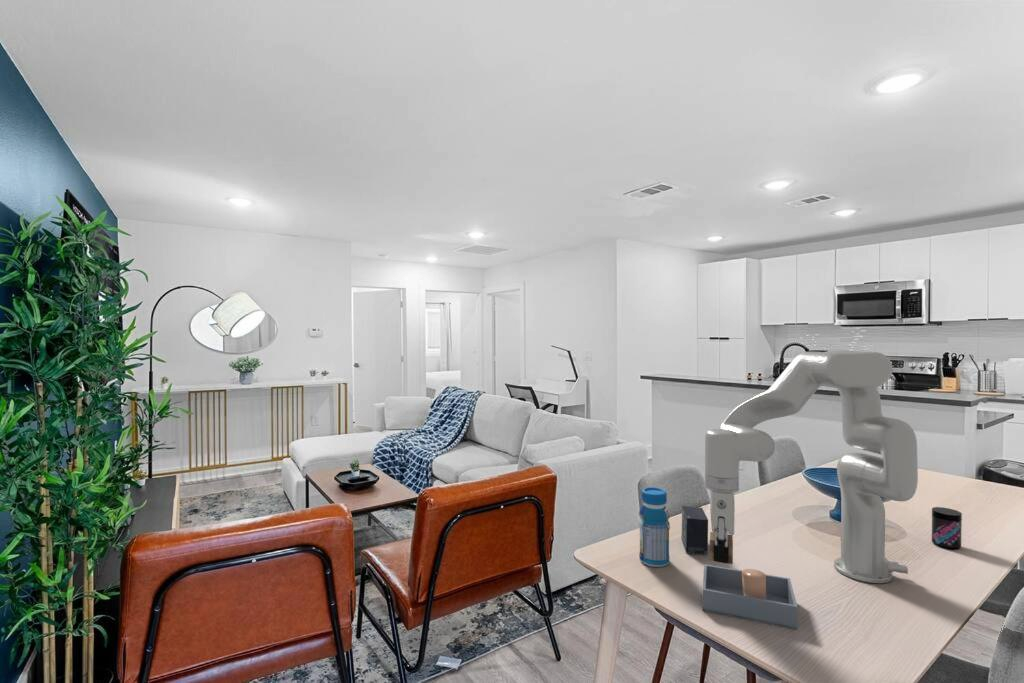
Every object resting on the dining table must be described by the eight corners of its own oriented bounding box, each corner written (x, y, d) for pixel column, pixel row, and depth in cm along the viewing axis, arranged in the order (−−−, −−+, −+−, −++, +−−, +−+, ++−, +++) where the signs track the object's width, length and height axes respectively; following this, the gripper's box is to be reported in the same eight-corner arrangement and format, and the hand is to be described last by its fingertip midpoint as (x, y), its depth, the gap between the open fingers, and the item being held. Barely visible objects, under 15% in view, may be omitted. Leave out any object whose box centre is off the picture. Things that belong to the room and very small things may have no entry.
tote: (789, 598, 119) (789, 578, 119) (797, 629, 107) (797, 607, 107) (704, 583, 127) (704, 564, 126) (702, 610, 114) (702, 589, 114)
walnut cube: (732, 555, 120) (732, 535, 120) (732, 564, 115) (732, 543, 115) (710, 551, 122) (710, 531, 122) (709, 560, 117) (709, 539, 117)
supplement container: (925, 542, 149) (926, 508, 149) (941, 539, 151) (941, 505, 151) (951, 552, 143) (952, 516, 142) (967, 549, 145) (967, 513, 144)
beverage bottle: (652, 570, 133) (652, 497, 133) (632, 557, 141) (632, 488, 141) (676, 564, 137) (676, 492, 137) (655, 552, 145) (655, 484, 144)
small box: (709, 555, 142) (709, 519, 142) (685, 553, 143) (685, 518, 143) (702, 540, 153) (702, 506, 152) (680, 538, 154) (680, 505, 154)
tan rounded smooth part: (764, 611, 113) (763, 580, 113) (741, 605, 115) (740, 575, 116) (768, 601, 117) (767, 572, 117) (745, 596, 120) (744, 567, 120)
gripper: (740, 494, 109) (739, 576, 109) (737, 474, 124) (737, 545, 125) (703, 490, 112) (703, 569, 112) (705, 470, 127) (705, 540, 128)
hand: (721, 556), depth 119 cm, fingers closed on walnut cube, 5 cm apart
